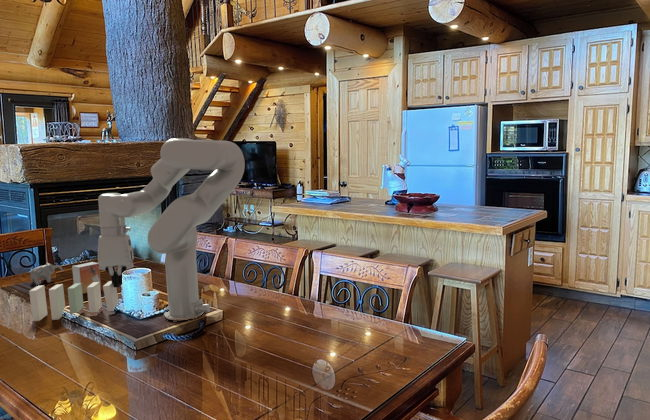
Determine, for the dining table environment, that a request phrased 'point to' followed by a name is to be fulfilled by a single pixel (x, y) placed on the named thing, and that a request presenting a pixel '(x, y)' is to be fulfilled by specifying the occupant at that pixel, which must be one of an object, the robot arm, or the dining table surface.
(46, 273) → the elephant statuette
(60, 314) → the domino
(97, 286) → the domino
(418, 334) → the dining table surface
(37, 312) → the domino
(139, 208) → the robot arm
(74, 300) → the domino
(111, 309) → the domino
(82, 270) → the small box
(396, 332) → the dining table surface
